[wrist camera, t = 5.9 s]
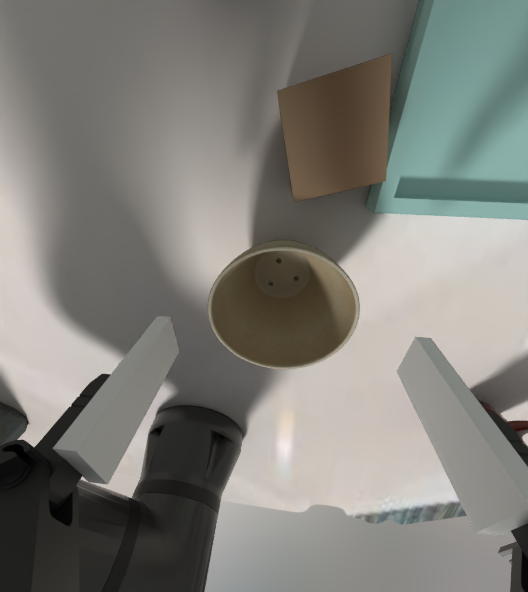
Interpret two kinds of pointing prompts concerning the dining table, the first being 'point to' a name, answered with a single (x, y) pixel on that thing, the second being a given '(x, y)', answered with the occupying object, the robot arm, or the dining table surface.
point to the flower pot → (283, 305)
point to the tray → (460, 114)
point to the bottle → (11, 424)
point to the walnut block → (337, 129)
